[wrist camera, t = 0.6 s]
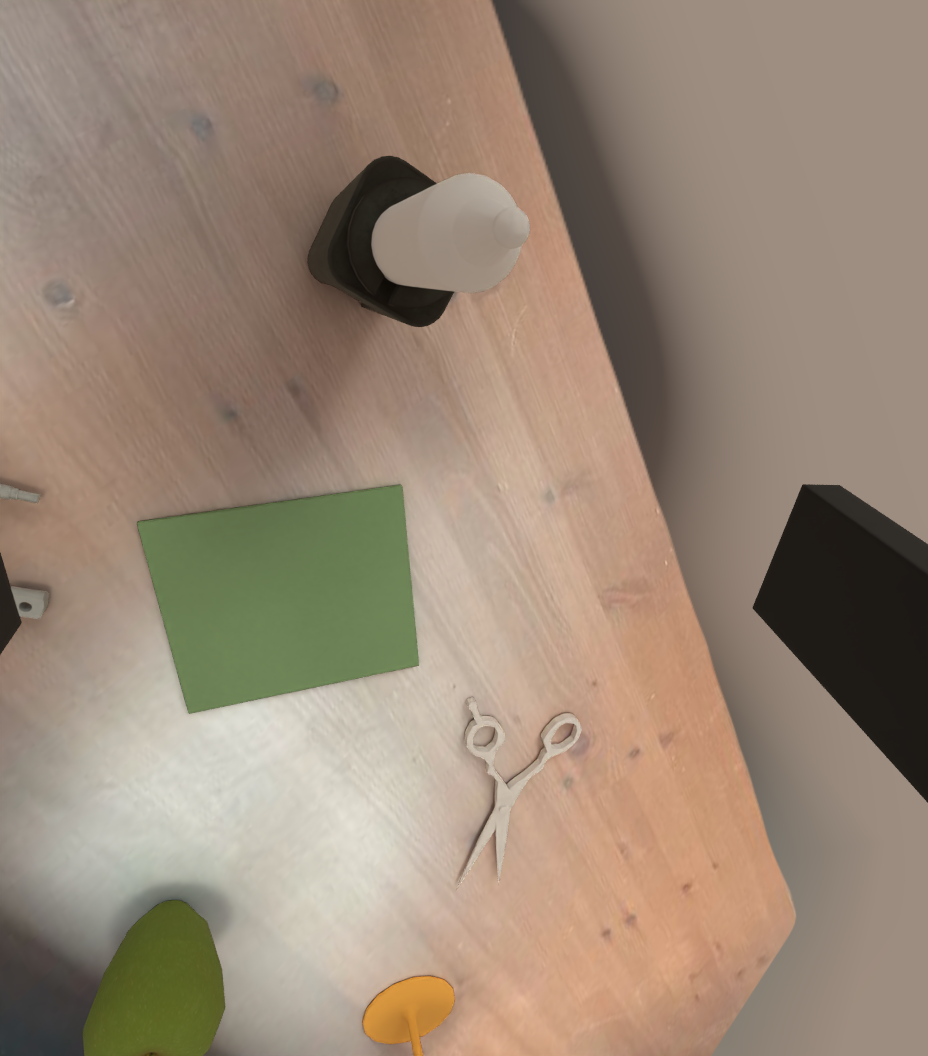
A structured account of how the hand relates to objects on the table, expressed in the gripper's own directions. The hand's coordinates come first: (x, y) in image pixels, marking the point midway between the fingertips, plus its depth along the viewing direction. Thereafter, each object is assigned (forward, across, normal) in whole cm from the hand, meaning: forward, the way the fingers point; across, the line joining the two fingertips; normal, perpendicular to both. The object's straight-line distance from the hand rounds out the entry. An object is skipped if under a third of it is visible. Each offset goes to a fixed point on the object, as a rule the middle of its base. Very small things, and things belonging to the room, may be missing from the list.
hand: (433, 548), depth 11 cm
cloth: (+27, -4, -21) cm, 34 cm away
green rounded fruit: (+22, -14, -47) cm, 54 cm away
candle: (+31, 0, +1) cm, 31 cm away
